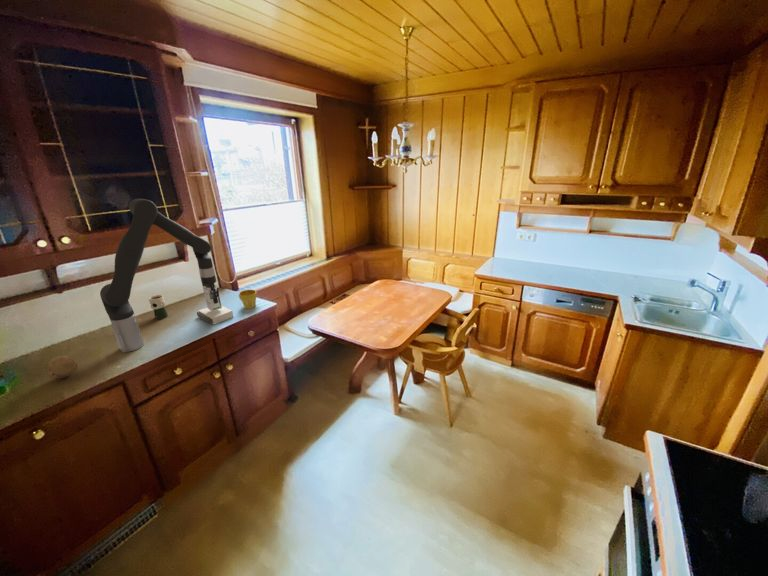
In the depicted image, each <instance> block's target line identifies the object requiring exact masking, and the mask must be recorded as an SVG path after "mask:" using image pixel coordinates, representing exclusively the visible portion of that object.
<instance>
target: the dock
mask: <svg viewBox="0 0 768 576" xmlns="http://www.w3.org/2000/svg"><path fill="white" fill-rule="evenodd" d="M221 306H222V308H221V309H218V310H215V311H211V310H209V309H208V307H205V308H202V309H201V308H200V309H198V311H197V312H196V316H197V317H199V318H200V319H201V320H204V321H205V322H206V323H209V324H210V325H217V324H218V323H221V322H224V321H226V320H229V319H231V318H234V312H233V310H231V309H229V308H227V307H226V306H224V305H222V304H221Z"/></svg>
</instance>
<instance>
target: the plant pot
mask: <svg viewBox="0 0 768 576" xmlns="http://www.w3.org/2000/svg"><path fill="white" fill-rule="evenodd" d="M238 297H239V300H240V301H241V303H242V306H243V307H244V309H252V308H255V307H256V305H257V304H256V303H257V297H258V293H257V291H256V290H255V289H244V290H241V291H240V292H239V293H238Z"/></svg>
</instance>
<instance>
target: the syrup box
mask: <svg viewBox="0 0 768 576" xmlns="http://www.w3.org/2000/svg"><path fill="white" fill-rule="evenodd" d="M214 285H215V287H216V288H217V287H218V285H216V284H214ZM202 290H203V294H204V298H205V302H206V306H207V307H208V309H209V310H211V311H215V310H218V309H221V308H222V306H223V305H222V303H221V297H220V296H219V297H217V299H218V303H216V304H214V302H213V297H212V294H211V293H210V291H211V288H210V287H209V288H208V286H207V287H205V286H204V287H203V286H202ZM211 292H212V293H213V291H211ZM213 295H214V294H213ZM221 305H222V306H221ZM207 307H206V308H207Z"/></svg>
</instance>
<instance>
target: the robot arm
mask: <svg viewBox="0 0 768 576" xmlns="http://www.w3.org/2000/svg"><path fill="white" fill-rule="evenodd" d="M128 210H129V213H131V214H132V220H131V224H130V227H129V228H128V229H127V231H126V232H125V233H124V235H123V236H122V238H121V239H120V241H119V243H118V247H117V250H116V252H115V256H114V273H113V278H112V280H111V283H107V284H106V285H104V286H103V287H101V289H100V291H99V292H100V293H99V296H100V298H101V301H102V302H101V303H102V304H103V307H104V310H105V311H106V314H107V316H108V319H109V320H110V322H111V326H112V328H113V331H114V332H113V334H114V338H115V341H116V343H117V345H118V348H119V350H120V351H121V352H122V353H124V354H125V353H127V352H132V351H133V352H134V351H137V350H139V349H141V348H142V347H143V346H144V345H145V342H144V339H143V336H142V333H141V331H140V328H139V325H138V321H137V318H136V315H135V312H134V309H133V307H132V306H131V303H130V302H129V299H130V297H131V293H132V287H133V286H132V285H133V282H134V281H133V280H134V278H135V275H136V272H137V270H138V268H139V264H140V262H141V259H142V256H143V254H144V249H145V247H146V243H147V240H148V237H149V232H150V231H151V228H152V226H153V225H154V226H156V227H158V228H160V229H162V231H164V232H166V233H168V234H169V235H170V236H172V237H173V238H175V239H176V240H178V241H180V242H181V243H182V244H185V245H188V246H190V247H191V248H192V250H193V255H194V256H195V258H196V260H197V266H198V271H199V277H200V282H201V285H202V288H203V287H204V286H205V287H207V286H208V288H209V287H210V288H211V291H213V293H212V292H211V291H210V293H211V294H212V297H213V302H214V304H216V303H218V299H217V297H220V291H219V287H218V286H217V288H216V287H215V285H216V284H215V283H217V276H216V272H215V268H214V263H213V260H212V257H210V256H209V253H211V251H212V245H211V243H210V242H208V241H207V240H205V239H203V238H201V237H200V236H198V235H196V234H195V233H193V232H192V231H190V230H189V229H188V228H186V227H184V226H183V225H181V224H179V223H178V222H176V221H175V220H172V219H171V218H169V217H167V216H165V215H164V214H163V213H161V212H159V210H158V207H157V205H156V203H154V202H153V201H152V200H149V199H145V198H134V199H132V200H131V201H130V202H129V204H128ZM213 294H214V295H213Z"/></svg>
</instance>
